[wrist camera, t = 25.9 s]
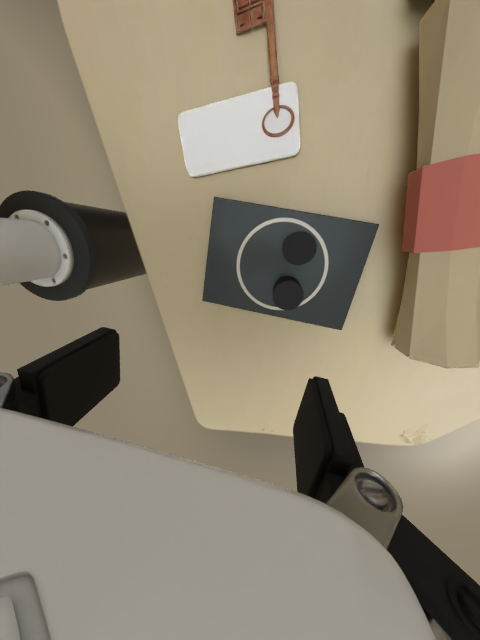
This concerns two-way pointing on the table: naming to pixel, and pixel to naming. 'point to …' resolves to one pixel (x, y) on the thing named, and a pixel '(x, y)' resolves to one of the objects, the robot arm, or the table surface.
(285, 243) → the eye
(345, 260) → the face board
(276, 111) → the key
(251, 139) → the smartphone
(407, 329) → the scroll
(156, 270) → the table surface
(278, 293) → the black cylinder roller
